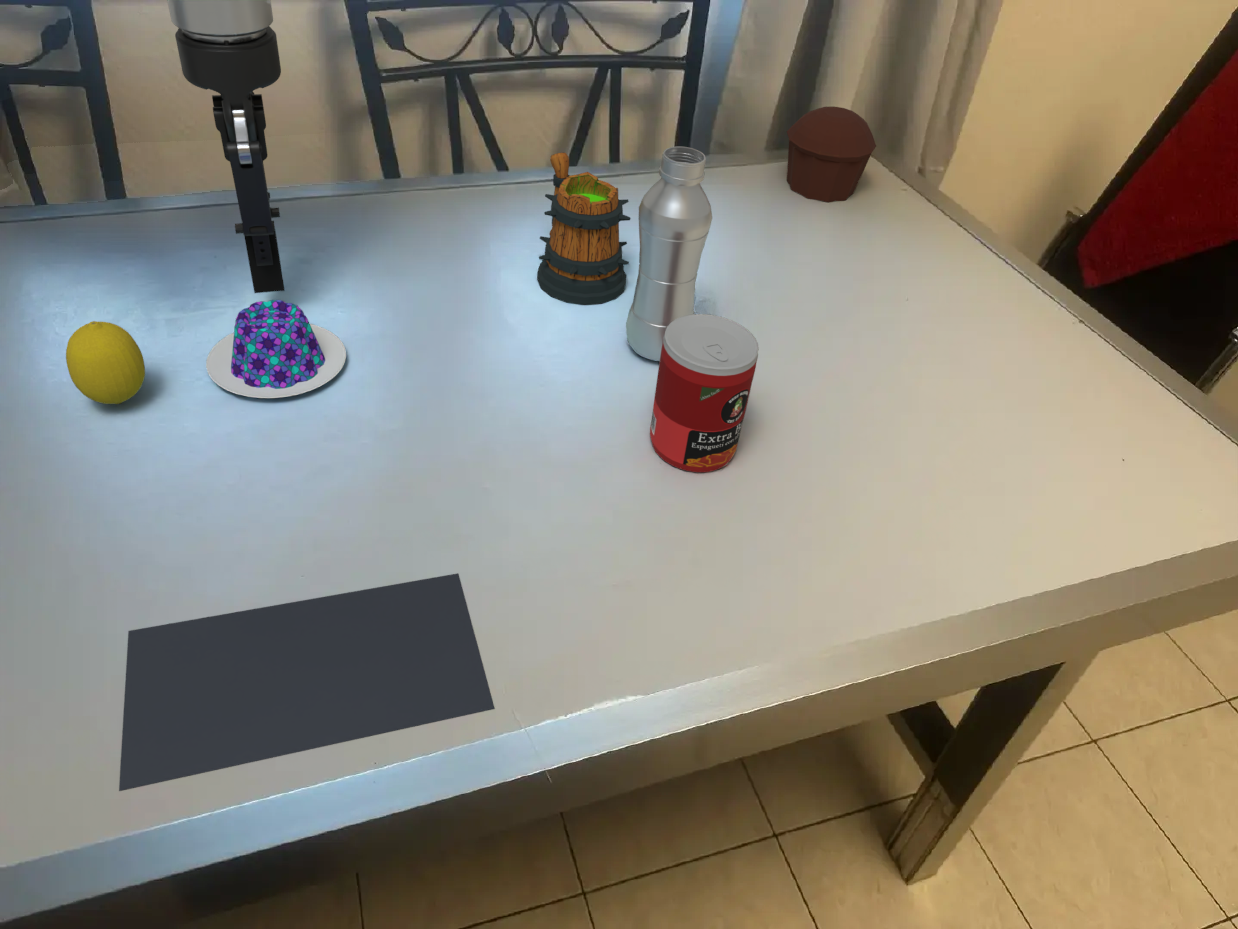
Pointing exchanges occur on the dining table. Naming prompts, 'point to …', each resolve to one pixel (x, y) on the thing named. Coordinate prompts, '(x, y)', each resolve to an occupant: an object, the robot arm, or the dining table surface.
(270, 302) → the pudding
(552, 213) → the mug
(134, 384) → the lemon
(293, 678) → the dark gray placemat
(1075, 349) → the dining table surface
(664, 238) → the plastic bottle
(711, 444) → the canned food
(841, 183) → the muffin
